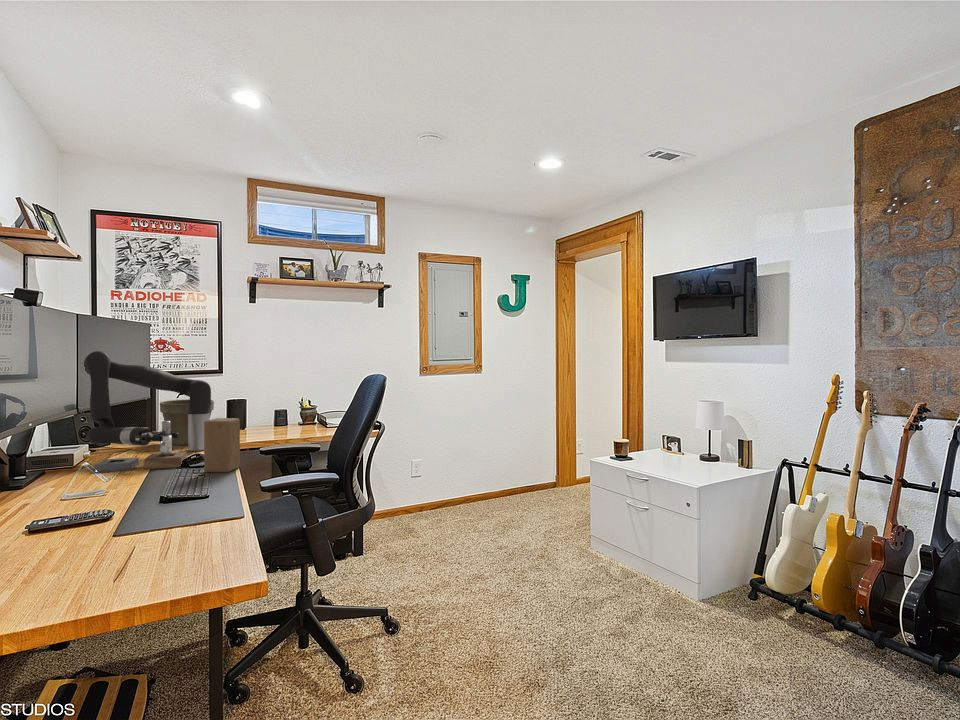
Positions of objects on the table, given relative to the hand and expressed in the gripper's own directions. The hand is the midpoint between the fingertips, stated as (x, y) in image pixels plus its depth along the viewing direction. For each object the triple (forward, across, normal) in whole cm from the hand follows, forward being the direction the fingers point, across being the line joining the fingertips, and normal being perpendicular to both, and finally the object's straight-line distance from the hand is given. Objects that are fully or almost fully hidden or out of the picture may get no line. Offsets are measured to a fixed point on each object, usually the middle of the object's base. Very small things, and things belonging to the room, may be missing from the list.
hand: (170, 437), depth 223 cm
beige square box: (-2, 0, +12) cm, 12 cm away
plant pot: (-34, +52, +12) cm, 63 cm away
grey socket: (-16, -9, +12) cm, 22 cm away
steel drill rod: (-2, 0, +12) cm, 12 cm away
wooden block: (+28, -5, +12) cm, 30 cm away
